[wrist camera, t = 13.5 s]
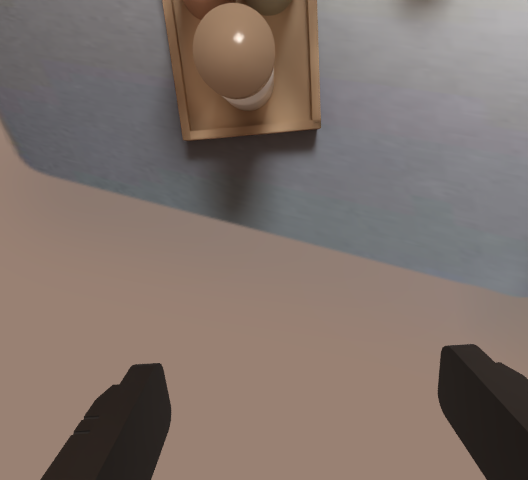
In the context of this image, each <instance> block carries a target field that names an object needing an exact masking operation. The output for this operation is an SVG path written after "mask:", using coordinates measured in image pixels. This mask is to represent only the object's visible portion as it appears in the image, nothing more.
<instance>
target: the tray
mask: <svg viewBox="0 0 528 480" xmlns="http://www.w3.org/2000/svg"><path fill="white" fill-rule="evenodd" d="M162 1H163V8H164V15H165V21H166V28H167V35H168V42H169V48H170V55H171V62H172V69H173V75H174V82H175V89H176V95H177V102H178V109H179V116H180V122H181V129H182V136H183V140H186V141H192V140H203V139H214V138H226V137H237V136H248V135H259V134H270V133H282V132H293V131H304V130H315V129H319V128H321V115H320V83H319V51H318V19H317V0H292V1H291V3H290V4H289V6H288V7H287V8H286V9H285V10H283V11H282V12H280V13H278V14H276V15H272V16H265V15H261V14H260V15H261V16H262V17H263V18H264V19H265V21H266V22H267V24H268V25H269V27H270V29H271V32H272V35H273V38H274V44H275V63H274V88H273V92H272V95H271V97H270V99H269V100H268V102H267V103H266V104H265V105H264V106H262V107H261V108H259V109H257V110H254V111H242V110H239V109H237V108H235V107H234V106H232V105H231V104H230V103H229V102H228V101H227V100H226V99H225V98H224V97H222V96H221V95H220V94H218V93H216V92H215V91H214V90H213V89H211V88H210V87H209V86H208V85H207V84H206V83H205V82H204V80H203V79H202V78H201V76H200V74H199V73H198V71H197V68H196V65H195V62H194V57H193V40H194V35H195V32H196V29H197V27H198V25H199V23H200V22H201V20H200V19H198V18H196V17H195V16H193V15H192V14H191V13H190V12H189V10H188V9H187V8H186V6H185V4H184V2H183V1H182V0H162ZM235 3H240V4H244V5H247V3H246V2H245V0H235ZM247 6H248V5H247Z"/></svg>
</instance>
